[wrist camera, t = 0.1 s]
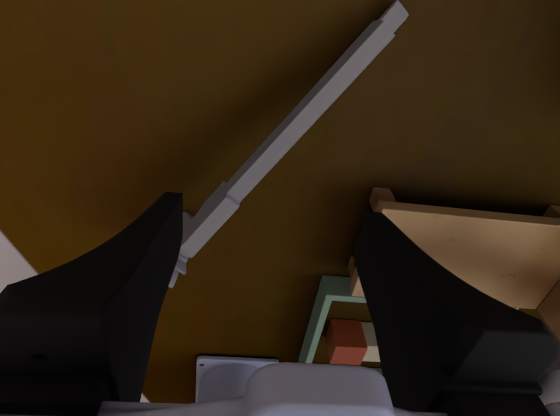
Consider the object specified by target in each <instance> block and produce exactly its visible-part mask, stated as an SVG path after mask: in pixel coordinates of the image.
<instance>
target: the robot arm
mask: <svg viewBox="0 0 560 416" xmlns="http://www.w3.org/2000/svg"><path fill="white" fill-rule="evenodd" d="M182 238H183V193H173V192H165V193H164V194H163V195H162V196H161V197H160V198H159V199H158V200H156V201H155V202H154V203H153V204H152V205H151V206H150V207H149V208H148V209H147V210H146V211H145V212H144V213H143V214H141V215H140V216H139V217H138V218H137V219H136V220H135V221H133V222H132V223H131V224H130V225H128V226H127V227H126V228H125V229H123V230H122V231H121V232H119V233H118V234H117V235H115V236H114V237H113V238H111V239H110V240H108V241H106V242H105V243H103V244H102V245H100V246H98V247H97V248H95V249H93V250H91V251H89V252H87V253H86V254H84V255H82V256H80V257H78V258H76V259H74V260H72V261H70V262H68V263H66V264H63V265H61V266H59V267H57V268H54V269H52V270H49V271H47V272H44V273H42V274H39V275H36V276H33V277H30V278H28V279H25V280H22V281H19V282H16V283H13V284H9V285H7V286H6V287H5V289H4V290H3V291H2V292H1V293H0V416H560V403H559V402H557V403H550V404H547V405H545V406H544V404H543V403H542V401H541V399H540V398H539V396H538V395H541V394H542V389H541V387H540V386H539V384H538V382H537V379H538V378H539V377H540V376H541V375H542V374H543V373H544V372H545V371H546V370H547V369H548V368H549V367H550V366H551V365H552V363H553V362H554V361H555V359H556V358H557V355H558V352H559V345H558V342H557V341H556V339H555V338H554V337H553V335H552V334H551V333H550V331H549V330H548V329H547V327H546V326H545V325H544V323H543V322H542V321H541V320H540V319H537V318H535V317H533V316H531V315H528V314H526V313H524V312H521V311H519V310H517V309H515V308H512V307H510V306H508V305H506V304H504V303H502V302H500V301H498V300H496V299H494V298H492V297H490V296H489V295H487V294H485V293H483V292H481V291H480V290H478V289H476V288H475V287H473V286H471V285H470V284H468V283H466V282H465V281H463V280H462V279H460V278H459V277H457V276H456V275H454V274H453V273H451V272H450V271H448V270H447V269H446V268H444V267H443V266H441V265H440V264H439V263H438V262H436V261H435V260H434V259H433V258H431V257H430V256H429V255H428V254H427V253H425V252H424V251H423V250H422V249H421V248H420V247H418V246H417V245H416V244H415V243H414V242H413V241H412V240H411V239H410V238H409V237H407V236H406V235H405V234H404V233H403V232H402V231H401V230H400V229H399V228H398V227H397V226H396V225H395V224H394V223H393V222H392V221H391V220H390V219H389V218H387V217H386V216H385V215H384V214H383V213H382V212H372V211H367V212H366V215H365V218H364V221H363V224H362V227H361V230H360V233H359V236H358V239H357V242H356V245H355V248H354V255H355V262H356V268H357V273H358V276H359V280H360V283H361V286H362V290H363V293H364V296H365V299H366V302H367V306H368V309H369V312H370V315H371V318H372V322H373V326H374V330H375V336H376V341H377V346H378V351H379V358H380V364H381V370H382V375H381V374H380V373H379V372H378V371H377V370H374V369H371V368H367V367H363V366H353V365H333V364H312V363H291V362H282V363H279V361H278V360H277V359H262V358H242V357H221V356H199V357H197V367H196V403H191V404H173V403H144V402H140V399H141V393H142V389H143V384H144V379H145V374H146V369H147V364H148V360H149V355H150V351H151V346H152V342H153V337H154V333H155V329H156V324H157V320H158V316H159V313H160V309H161V306H162V303H163V300H164V297H165V295H166V292H167V289H168V286H169V283H170V280H171V278H172V275H173V272H174V269H175V266H176V263H177V260H178V257H179V252H180V248H181V243H182Z"/></svg>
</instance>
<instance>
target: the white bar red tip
mask: <svg viewBox="0 0 560 416" xmlns="http://www.w3.org/2000/svg"><path fill="white" fill-rule="evenodd" d="M325 337H326V343H327V349H328V356H329V362H330V364H348V365H361V362H362V361H373V362H380V358H379V351H378V346H377V341H376V336H375V330H374V326H373V323H370V322H361V321H359V320H343V319H331V320H330V323H329V326H328V329H327V332H326V335H325Z"/></svg>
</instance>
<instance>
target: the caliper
mask: <svg viewBox="0 0 560 416" xmlns="http://www.w3.org/2000/svg"><path fill="white" fill-rule="evenodd" d="M408 15H409V14H408V13H407V11H406V10H405V9H404V7H403V6H402V5H401V3H400V2H399V1H398V0H395V1H394V2H393V3H392V4H391V6H390V7H389V8H388V9H387V10H386V11H385V12H384V13H383V14H382V16H381V17H380V18H379V19H378V20H375V21H373V22H372V23H371V24H370V25H369V26H368V27H367V28H366V29H365V30H364V31H363V32H362V33H361V35H360V36H359V37H358V38H357V39H356V40H355V41H354V42H353V43H352V45H351V46H350V47H349V48H348V49H347V50H346V51H345V52H344V53H343V55H342V56H341V57H340V58H339V59H338V60H337V61H336V62H335V63H334V64H333V66H332V67H331V68H330V69H329V70H328V71H327V72H326V73H325V74H324V76H323V77H322V78H321V79H320V80H319V81H318V82H317V83H316V84H315V86H314V87H313V88H312V89H311V90H310V91H309V92H308V93H307V94H306V96H305V97H304V98H303V99H302V100H301V101H300V102H299V103H298V104H297V106H296V107H295V108H294V109H293V110H292V111H291V112H290V113H289V114H288V116H287V117H286V118H285V119H284V120H283V121H282V122H281V123H280V124H279V125H278V127H277V128H276V129H275V130H274V131H273V132H272V133H271V134H270V135H269V137H268V138H267V139H266V140H265V141H264V142H263V143H262V144H261V145H260V146H259V148H258V149H257V150H256V151H255V152H254V153H253V154H252V155H251V156H250V157H249V159H248V160H247V161H246V162H245V163H244V164H243V165H242V166H241V167H240V169H239V170H238V171H237V172H236V173H235V174H234V175H233V176H232V177H231V178H230V180H229V181H228V182H227V183H226V182H225V181H223V182H222V183H221V184H220V185H219V187H218V188H217V189H216V190H215V192H214V193H213V194H212V195H211V196H210V197H209V198H208V199H207V200H206V201H205V203H204V204H203V205H202V207H201V208H200V209H199V211H198V213H197V214H196V215H195V216H194V217H193V216H191V215H190V214H189V213H187V212H186V211H185V212H183V238H182V243H181V248H180V252H179V257H178V260H177V263H176V266H175V269H174V272H173V275H172V278H171V280H170V283H169V286H168V287H170V288H173V286H174V284H175V282H176V279H177V277H178V274H179V272H180V273H182V274H183V275H185V274H186V262H187V259H188V258H189V257H190V258H192V257H193V256H194V255H195V254H196V253H197V252H198V251H199V250H200V249H201V248H202V247H203V246H204V244H205V243H206V242H207V241H208V240H209V239H210V238H211V237H212V236H213V235H214V234H215V233H216V231H217V230H218V229H219V228H220V227H221V226H222V225H223V224H224V223H225V222H226V221H227V220H228V219H229V217H230V216H231V215H232V214H233V213H234V212H235V211H236V210H237V209H238V208H239V205H240V202H241V201H242V200H243V199H244V198H245V196H246V195H247V194H248V193H249V192H250V191H251V190H252V189H253V188H254V187H255V186H256V185H257V184H258V183H259V181H260V180H261V179H262V178H263V177H264V176H265V175H266V174H267V173H268V172H269V171H270V170H271V169H272V168H273V166H274V165H275V164H276V163H277V162H278V161H279V160H280V159H281V158H282V157H283V156H284V155H285V154H286V153H287V151H288V150H289V149H290V148H291V147H292V146H293V145H294V144H295V143H296V142H297V141H298V140H299V139H300V138H301V136H302V135H303V134H304V133H305V132H306V131H307V130H308V129H309V128H310V127H311V126H312V125H313V124H314V123H315V121H316V120H317V119H318V118H319V117H320V116H321V115H322V114H323V113H324V112H325V111H326V110H327V109H328V108H329V106H330V105H331V104H332V103H333V102H334V101H335V100H336V99H337V98H338V97H339V96H340V95H341V94H342V93H343V91H344V90H345V89H346V88H347V87H348V86H349V85H350V84H351V83H352V82H353V81H354V80H355V79H356V77H357V76H358V75H359V74H360V73H361V72H362V71H363V70H364V69H365V68H366V67H367V66H368V65H369V63H370V62H371V61H372V60H373V59H374V58H375V57H376V56H377V55H378V54H379V53H380V52H381V51H382V49H383V48H384V47H385V46H386V45H387V44H388V43H389V42H390V41H391V40H392V39H393V38H394V37H395V35H394V34H393V33H394V32H395V31H396V30H397V29H398V27H399V26H400V25H401V24H402V23H403V22H404V21H405V20H406V17H407V16H408Z"/></svg>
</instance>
